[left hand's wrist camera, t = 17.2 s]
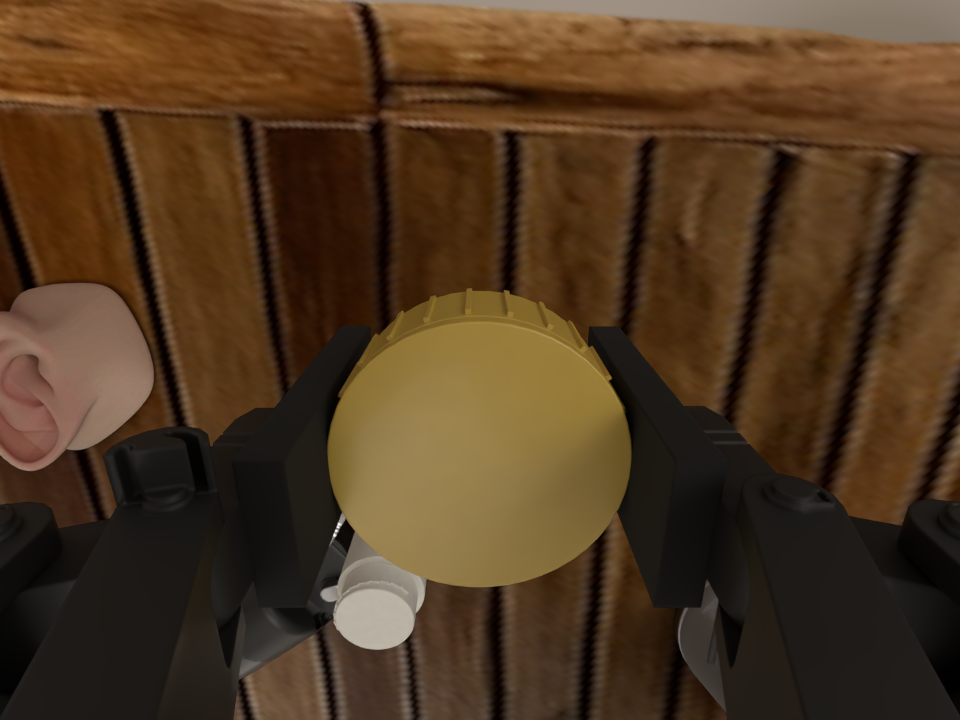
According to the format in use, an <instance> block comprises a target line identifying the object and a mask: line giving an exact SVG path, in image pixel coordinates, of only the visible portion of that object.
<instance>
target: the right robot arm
mask: <svg viewBox="0 0 960 720" xmlns="http://www.w3.org/2000/svg"><path fill="white" fill-rule="evenodd" d="M345 519H346V518H345V516H344V514H343V513H342V514H341V517H340V520H339V522H338V525H337V527H336V530H335V533H334V535H333V538H332V540H331V543H330V545H329V548H328V551H327V553H326V556H325V558H324V561H323V564H322V566H321V569H320V571H319V574H318V576H317V579H316V582H315V584H314V587H313V589H312V592H311V595H310V597H309V600H308V602H307V605H306V608H259V607H258V602H257V597H256V591H255V586H254V581H253V582H252V584H251V586H250V588H249V590H248V591H247V593H246V595H245V597H244V599H243V601H242V607H243V612H244V617H245V624H246V629H245V637H244V644H243V651H242V658H241V666H240V673H239V679H241V678H244V677H246V676H248V675H250V674H252V673H254V672H255V671H257V670H258V669H260V668H262V667H263V666H265V665H266V664H268V663H269V662H271V661H273V660H274V659H276V658H277V657H279V656H280V655H282V654H283V653H285V652H287V651H288V650H290V649H291V648H293V647H294V646H296V645H298V644H299V643H301V642H302V641H304V640H305V639H307V638H309V637H310V636H312V635H313V634H315V633H316V632H318V631H319V630H320V629H321V628H323V627H324V626H325V625H326V624H327V623H328V622H329V621H330V620H331V619H333V618H334V616H333V612H334V608H335V604H336V601H337V600H338V598H339V596H338V590H337V587H338V581H339V578H340V575H341V572H342V569H343V566H344V563H345V560H346V557H347V554H348V551H349V548H350V545H351V542H352V539H353V536H354V534H353V533H352V531H351V529H350V528H349V527H348V526H347V525H346V524H345V523H344V521H345ZM426 586H427V580H426ZM425 591H426V588H425Z"/></svg>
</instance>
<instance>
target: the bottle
mask: <svg viewBox="0 0 960 720" xmlns="http://www.w3.org/2000/svg"><path fill="white" fill-rule="evenodd" d="M426 580H427V579H426V578H423V577H420V576H417V575H415V574H413V573H410V572H408V571H406V570H403V569H401V568H400V567H398V566H396V565H395V564H393V563H391V562H389V561H388V560H386V559H385V558H384V557H382V556H381V555H380V554H378V553H377V552H376V551H374V550H373V549H372V548H371V547H370V546H369V545H368V544H367V543H366V542H365V541H364V540H362V539H361V538H360V536H359V535H358V534H357V533H356V531H355V533H354V536H353V539H352V542H351V545H350V548H349V551H348V554H347V557H346V560H345V563H344V566H343V569H342V572H341V575H340V578H339V581H338V587H337V590H338V596H339V598H338V600H337V601H336V604H335V608H334V612H333V616H334V624H335V626H336V628H337V630H339V631H340V633H341V634H342V635H343V636H344V637H345V638H346V639H347V640H348V641H350V642H351V643H353V644H355V645H357V646H360V647H363V648H367V649H387V648H391V647H394V646H396V645H398V644H400V643H402V642H403V641H404V640H405V639H406V638H407V637H408V636H409V635H410V633H411V632H412V630H413V627H414V621H415V614H416V612H417V611H418V610H419V609H420V607H421V605H422V603H423V601H424V596H425V588H426Z"/></svg>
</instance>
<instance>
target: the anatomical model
mask: <svg viewBox="0 0 960 720" xmlns="http://www.w3.org/2000/svg"><path fill="white" fill-rule="evenodd" d="M153 383H154V369H153V363H152V359H151V354H150V352H149V349H148V346H147V343H146V341H145V339H144V336H143V334H142V332H141V330H140V328H139V326H138V324H137V322H136V320H135V318H134V316H133V315H132V313H131V311H130V310H129V308H128V307H127V305H126V304H125V302H124V301H123V300H122V299H121V297H120V296H119V295H118V294H117V293H115V292H114V291H113V290H111V289H110V288H108V287H106V286H103V285H100V284H94V283H62V284H51V285H47V286H42V287H37V288H33V289H29V290H27V291H25V292H23V293H21V294H20V295H19V296H18V297H17V298H16V299H15V301H14V303H13V305H12V307H11V310H10V312H0V455H1V456H2V457H3V458H4V459H5V460H7V461H8V462H9V463H10V464H12V465H14V466H15V467H17V468H19V469H22V470H26V471H34V470H39V469H41V468H44V467H46V466H47V465H49V464H50V463H52V462H53V461H54V460H56V459H57V458H58V457H59V456H60V455H61V454H62V453H63V452H64V451H65V450H66V449H69V450H82V449H86V448H89V447H91V446H93V445H95V444H97V443H99V442H100V441H102V440H103V439H105V438H106V437H108V436H109V435H110V434H112V433H113V432H114V431H116V430H117V429H118V428H119V427H120V426H122V425H123V424H124V423H125V422H126V421H127V420H128V419H129V418H130V417H132V416H133V415H134V413H135V412H136V411H137V410H138V409H139V408H140V407H141V406H142V405H143V403H144V402H145V401H146V399H147V398H148V396H149V394H150V392H151V390H152V387H153Z"/></svg>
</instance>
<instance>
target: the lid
mask: <svg viewBox="0 0 960 720" xmlns="http://www.w3.org/2000/svg"><path fill="white" fill-rule="evenodd" d="M611 379H612V378H611V376H610V374H609V373H608V371H607V369H606V368H605V366H604V364H603V363H602V361H601V359H600V358H599V356H598V354H597V353H596V351H595V349H594V348H593V346H591V347H588V346H587V344H586V343H585V342H584V340H583V339H582V338H581V336H580V335H579V333H578V332H577V330H576V328H575V326H574V324H573V323H572V322H571V321H570V320H569V321H568V322H566V321H564V320H563V319H562V318H560V317H559V316H558V315H556V314H555V313H554V312H552V311H550V310H548V309H546V308H545V305H544V303H542V302H540V301H539V302H538V304H537V303H535V302H532V301H530V300H527V299H525V298H522V297H518V296H514V295H510V294H509V291H505V290H504V292H503V293H499V292H491V291H472V288H470V289H467V291H466V292H460V293H453V294H449V295H445V296H441V297H437V298H436V296H435V295H434V296H431V297H430V300H429V301H427V302H424V303H422V304H420V305H418V306H416V307H414V308H412V309H411V310H409V311H407V312H405V313H404V312H403V311H401V312H400V313H398V315H397V317H396V319H395V321H393V322H392V323H391V324H390V325H389V326H388V327H387V328H386V329H385V330H384V331H383V332H382V333H381V334H380V335H377V334H375V335H374V336H373V338H372V340H371V341H370V343H369V345H368V346H367V348H366V350H365V351H364V353H363V355H362V356H361V358H360V360H359V362H357V364H356V365H355V367H354V369H353V370H352V372H351V374H350V376H349V377H348V379H347V381H346V382H345V384H344V386H343V387H342V389H341V391H340V392H339V395H338V397H339V398H341V399H340V401H339V403H338V405H337V407H336V410H335V413H334V415H333V418H332V421H331V424H330V430H329V435H328V441H327V455H328V465H329V473H330V481H331V486H332V489H333V493H334V496H335V498H336V500H337V502H338V505H339V507H340V509H341V511H342V513H343V514H344V516H345V518H346V519H347V521H348V522H349V524H350V525H351V527H352V528H353V529H354V530H355V531H356V533H357V534H358V535H359V536H360V538H361V539H362V540H364V541H365V542H366V543H367V544H368V545H369V546H370V547H371V548H372V549H373V550H374V551H376V552H377V553H378V554H380V555H381V556H382V557H384V558H385V559H386V560H388V561H389V562H391V563H393V564H395V565H396V566H398V567H400V568H401V569H403V570H406V571H408V572H410V573H413V574H415V575H417V576H420V577H423V578H426V579H429V580H432V581H435V582H440V583H445V584H450V585H456V586H466V587H493V586H502V585H509V584H514V583H518V582H523V581H527V580H530V579H533V578H536V577H539V576H542V575H544V574H546V573H548V572H551V571H553V570H555V569H557V568H559V567H561V566H562V565H564V564H566V563H567V562H569V561H571V560H572V559H574V558H575V557H577V556H578V555H579V554H580V553H582V552H583V551H584V550H586V549H587V548H588V547H589V546H590V545H591V544H592V543H593V542H594V541H595V540H596V539H597V538H598V537H599V536H600V535H601V534H602V532H603V531H604V530H605V529H606V527H607V526H608V525H609V524H610V522H611V520H612V519H613V517H614V515H615V514H616V512H617V510H618V509H619V507H620V504H621V502H622V500H623V497H624V495H625V492H626V489H627V485H628V481H629V477H630V468H631V459H632V444H631V436H630V431H629V426H628V421H627V419H626V416H625V413H626V409H625V407H624V405H623V403H622V402H621V400H620V398H619V397H618V395H617V393H616V391H615V390H614V388H613V386H612V384H611V383H610V381H609V380H611Z"/></svg>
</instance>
